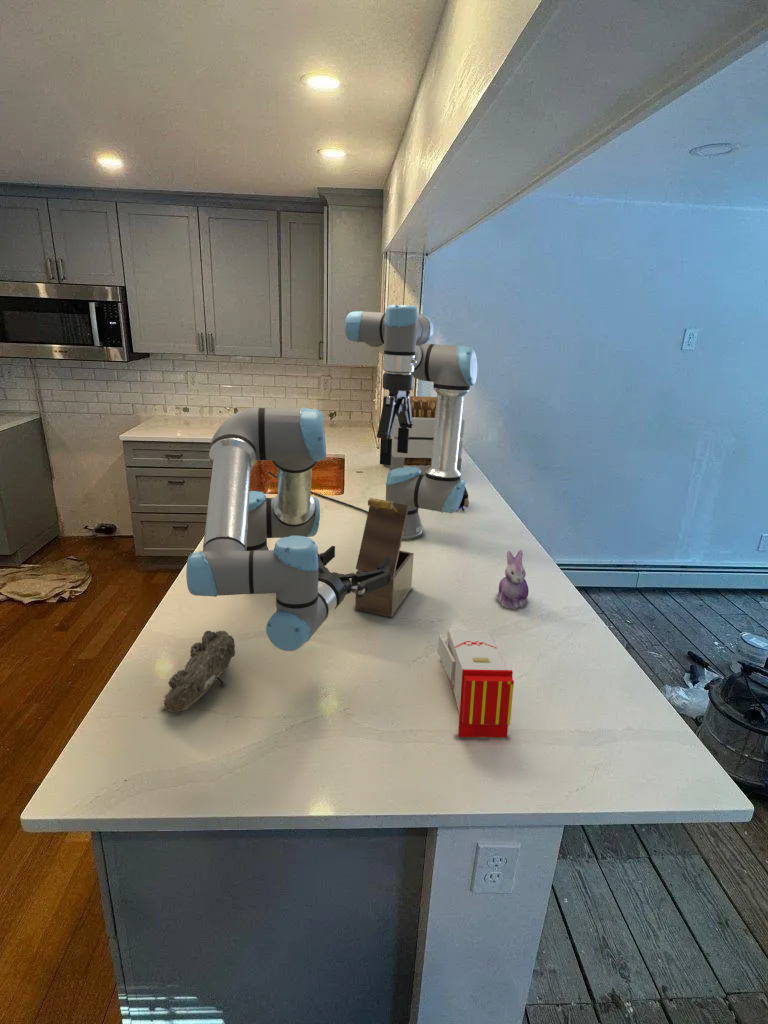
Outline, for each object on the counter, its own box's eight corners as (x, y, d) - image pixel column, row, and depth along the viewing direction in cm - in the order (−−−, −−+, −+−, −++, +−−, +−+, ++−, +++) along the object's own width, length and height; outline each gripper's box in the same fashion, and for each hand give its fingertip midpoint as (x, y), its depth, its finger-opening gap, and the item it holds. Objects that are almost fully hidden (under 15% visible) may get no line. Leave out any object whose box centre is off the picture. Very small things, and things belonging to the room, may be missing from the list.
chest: (378, 581, 164) (379, 546, 161) (411, 588, 161) (413, 553, 158) (355, 609, 149) (356, 571, 145) (391, 617, 146) (393, 579, 142)
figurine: (511, 613, 150) (518, 561, 145) (487, 596, 158) (493, 547, 153) (538, 606, 154) (546, 556, 149) (513, 590, 163) (520, 542, 157)
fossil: (188, 633, 127) (235, 602, 122) (218, 661, 130) (265, 632, 125) (141, 705, 107) (195, 672, 102) (177, 737, 110) (232, 706, 105)
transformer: (382, 463, 289) (386, 382, 275) (445, 464, 293) (451, 384, 279) (390, 482, 257) (394, 392, 243) (460, 483, 261) (468, 394, 247)
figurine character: (468, 516, 224) (463, 500, 237) (471, 498, 221) (465, 483, 234) (452, 515, 224) (447, 499, 237) (453, 498, 220) (449, 482, 234)
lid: (372, 500, 148) (361, 491, 140) (409, 506, 145) (400, 497, 137) (357, 569, 145) (345, 565, 137) (394, 576, 142) (384, 572, 134)
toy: (488, 613, 130) (523, 677, 101) (484, 667, 133) (517, 744, 104) (435, 612, 130) (455, 676, 101) (432, 666, 133) (451, 743, 103)
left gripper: (265, 601, 117) (311, 561, 136) (379, 626, 109) (411, 581, 128) (264, 568, 114) (311, 532, 133) (380, 592, 107) (413, 550, 126)
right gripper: (397, 379, 124) (392, 472, 132) (427, 369, 147) (421, 449, 154) (365, 376, 127) (362, 468, 134) (399, 367, 149) (395, 446, 156)
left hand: (360, 556), depth 131 cm, fingers open, 13 cm apart
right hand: (394, 458), depth 144 cm, fingers open, 13 cm apart
